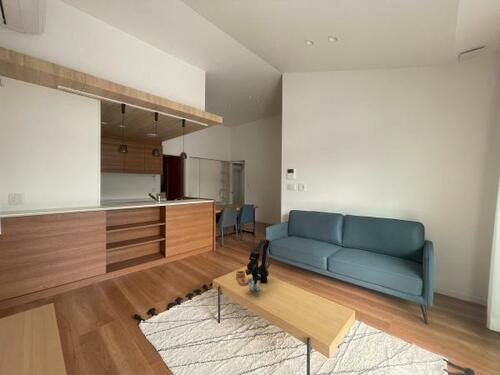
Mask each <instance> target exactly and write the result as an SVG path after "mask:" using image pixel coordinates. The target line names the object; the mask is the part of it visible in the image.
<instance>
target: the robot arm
mask: <svg viewBox="0 0 500 375" xmlns="http://www.w3.org/2000/svg"><path fill="white" fill-rule="evenodd" d="M271 243H272V241H271V240H270V239H267V238H260V240H259V243H258V244H257V246H256V247H255V248H254V249H252V251H251V252H250V255H249V259H248V260H249V262H248V263H247V265H246V269H245V270H244V271H245V276H250V275H251V277H252V279H253V281H254V284H255V285H256V283H257V281H258V282H259V283H260V284H268V277H269V274H270V272H269V271H268V270H269V269H268V266H267V261H268V252H269V249H270V247H271ZM261 251H262V252H261ZM261 253H262V255H261ZM260 258H261V263H260V265H259V261H260Z"/></svg>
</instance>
